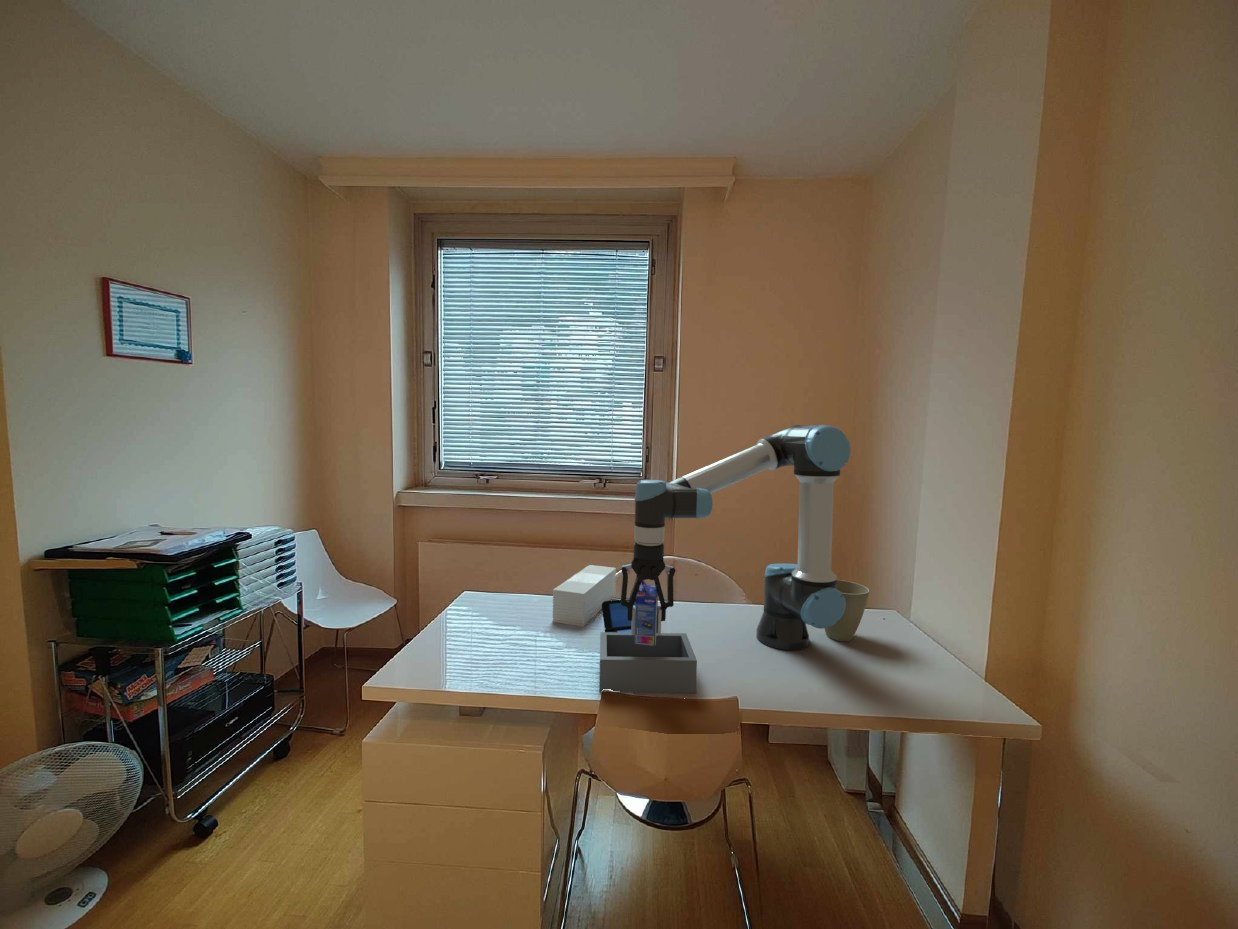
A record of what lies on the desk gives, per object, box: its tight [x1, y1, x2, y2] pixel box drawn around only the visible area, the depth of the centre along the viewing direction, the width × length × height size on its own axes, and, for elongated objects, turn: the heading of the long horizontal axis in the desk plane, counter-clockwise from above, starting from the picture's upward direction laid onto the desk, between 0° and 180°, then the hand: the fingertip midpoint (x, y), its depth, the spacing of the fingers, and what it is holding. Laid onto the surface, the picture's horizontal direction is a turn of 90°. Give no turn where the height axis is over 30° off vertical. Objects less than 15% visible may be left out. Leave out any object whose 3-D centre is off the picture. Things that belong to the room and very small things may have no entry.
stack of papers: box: [552, 564, 617, 627], centre depth 177 cm, size 32×11×11 cm, turn 162°
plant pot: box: [823, 579, 870, 642], centre depth 157 cm, size 15×15×16 cm
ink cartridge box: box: [634, 580, 659, 646], centre depth 128 cm, size 10×6×14 cm, turn 174°
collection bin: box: [598, 631, 698, 694], centre depth 129 cm, size 23×16×8 cm
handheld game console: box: [601, 598, 636, 633], centre depth 154 cm, size 16×13×9 cm
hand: (645, 632), depth 128 cm, fingers closed on ink cartridge box, 6 cm apart
